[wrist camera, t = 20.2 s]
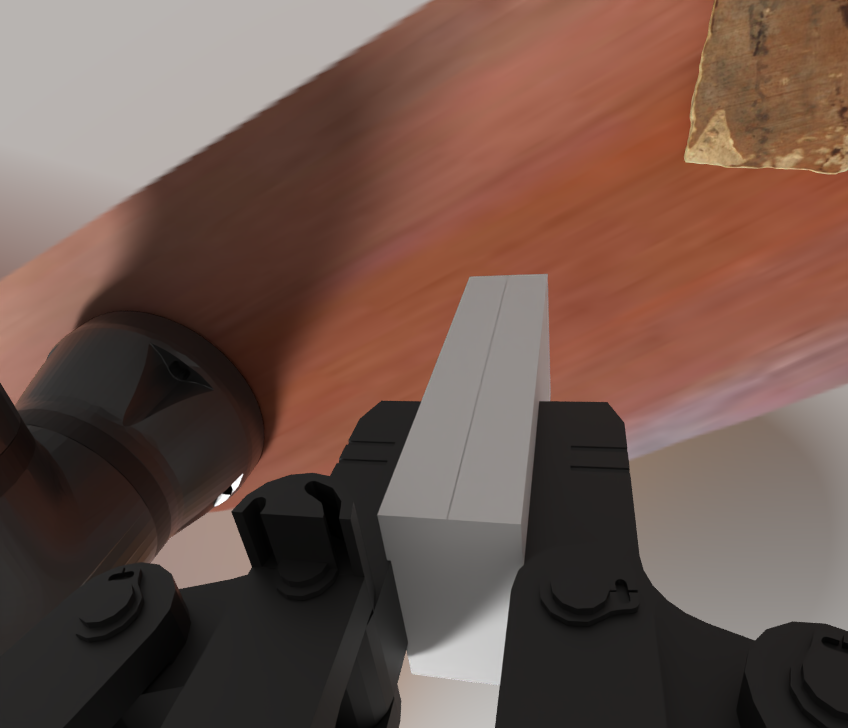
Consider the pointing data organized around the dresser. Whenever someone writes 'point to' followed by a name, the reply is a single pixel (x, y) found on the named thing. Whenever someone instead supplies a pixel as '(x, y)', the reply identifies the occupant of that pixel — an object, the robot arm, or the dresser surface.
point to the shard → (773, 87)
